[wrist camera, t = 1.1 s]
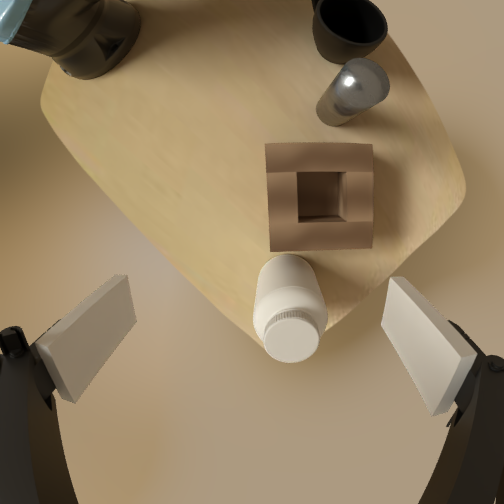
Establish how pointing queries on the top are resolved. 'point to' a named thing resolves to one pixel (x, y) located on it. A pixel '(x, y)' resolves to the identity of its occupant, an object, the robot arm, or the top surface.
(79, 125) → the top surface
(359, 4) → the mug
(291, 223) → the socket block
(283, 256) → the pill bottle
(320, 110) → the peg
